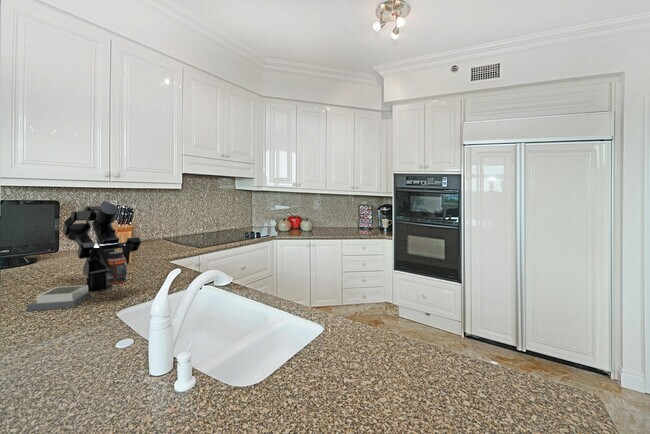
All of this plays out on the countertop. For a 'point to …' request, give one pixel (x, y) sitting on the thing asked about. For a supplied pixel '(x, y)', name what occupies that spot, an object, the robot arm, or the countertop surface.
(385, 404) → the countertop surface
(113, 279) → the supplement bottle
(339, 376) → the countertop surface
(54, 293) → the plate
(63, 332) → the countertop surface
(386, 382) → the countertop surface
